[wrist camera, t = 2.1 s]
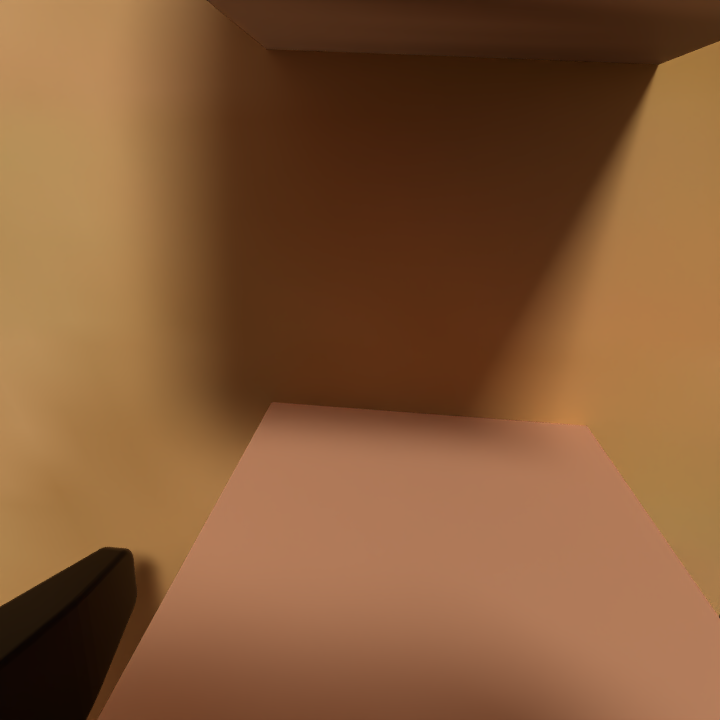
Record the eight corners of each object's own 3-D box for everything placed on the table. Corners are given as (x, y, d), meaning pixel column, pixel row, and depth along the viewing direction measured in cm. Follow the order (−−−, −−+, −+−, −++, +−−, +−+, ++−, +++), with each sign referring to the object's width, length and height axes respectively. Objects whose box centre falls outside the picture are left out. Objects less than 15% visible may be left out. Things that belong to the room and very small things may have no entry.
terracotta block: (586, 424, 9) (915, 901, 3) (537, 663, 10) (691, 1252, 5) (271, 400, 9) (52, 800, 3) (273, 638, 11) (129, 1167, 5)
